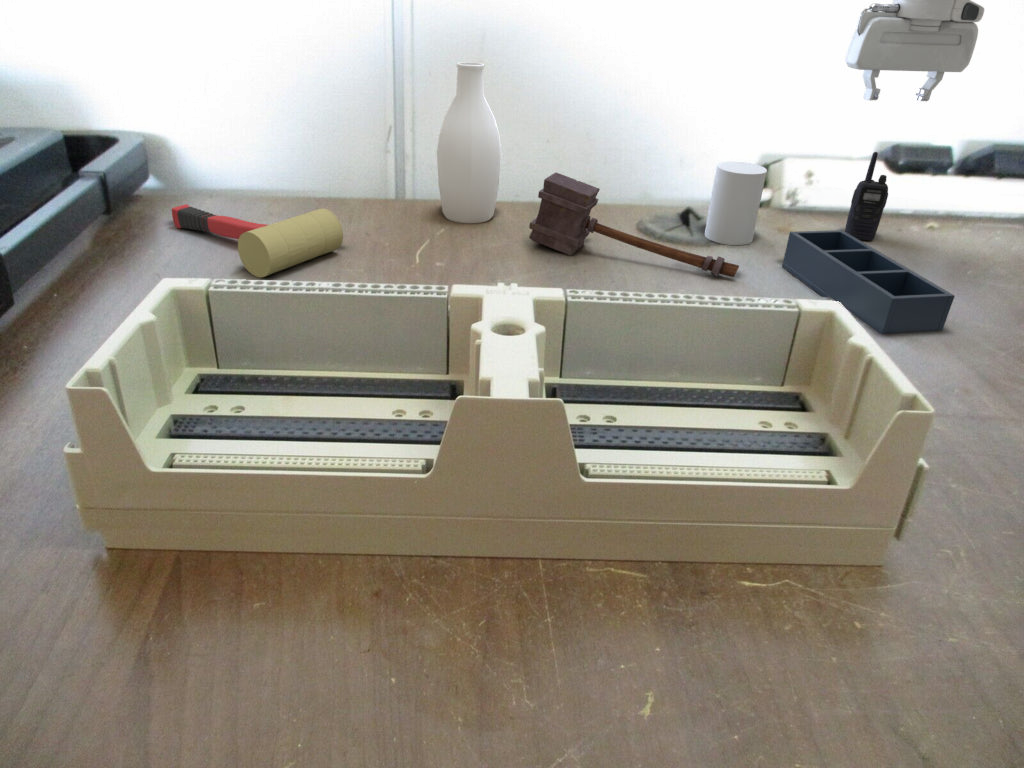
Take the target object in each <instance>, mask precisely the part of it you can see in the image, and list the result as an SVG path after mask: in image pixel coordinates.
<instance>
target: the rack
mask: <svg viewBox="0 0 1024 768" xmlns="http://www.w3.org/2000/svg"><path fill="white" fill-rule="evenodd" d="M786 243H787V244H786V246H785V247H786V248H785V251H784V256H783V260H782V265H781V267H782V268H783V269H784V270H785V271H787V272H788V273H790V274H791V275H792V276H794V277H795V278H797V279H798V280H799V281H801V282H802V283H803V284H804V285H805V286H807V287H808V288H810V289H811V290H813V291H814V292H815V293H817V294H818V295H819V296H821V297H822V298H831V299H832V300H834V301H835V302H837V301H839V302H841V303H842V304H843V305H844V306H845V307H846V308H845V307H844V306H843V307H844V308H845V309H846V310H847V311H850V312H851V313H852V314H853V315H855V316H856V317H857V318H859V319H860V320H862V321H863V322H864V323H866V324H867V325H868V326H870V327H871V328H873V330H875V331H877V332H878V333H879V334H881V335H889V334H890V335H891V334H907V333H922V332H923V333H925V332H941V331H943V330H944V327H945V324H946V321H947V319H948V316H949V313H950V310H951V307H952V305H953V302H954V299H955V296H956V295H955V294H952V293H951V292H949V291H948V290H946V289H944V288H942V287H941V286H940V285H937V284H936V283H935V282H933V281H930V279H927V278H926V277H924V276H922V275H921V274H919V273H917V272H915V271H913V270H912V269H910V268H908V267H906V266H905V265H904V264H901V263H900V262H898V261H896V260H895V259H892V258H891V257H889V256H888V255H886V254H885V253H883V252H881V251H879V250H877V249H875V248H874V247H872V246H870V245H869V244H867V243H865V242H864V241H863V240H859V239H857V238H855V237H853V236H851V235H850V234H848V233H846V232H845V230H843V229H838V230H837V229H836V230H835V229H833V230H832V229H831V230H801V231H799V230H797V231H789V234H788V237H787V242H786Z"/></svg>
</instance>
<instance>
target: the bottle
mask: <svg viewBox="0 0 1024 768" xmlns="http://www.w3.org/2000/svg"><path fill="white" fill-rule="evenodd" d="M456 68H457V71H456V72H457V75H456V76H457V77H456V93H455V96H454V98H453V100H452V102H451V103H450V106H449V107H448V110H447V111H446V113H445V115H444V117H443V120H442V124H441V129H440V131H439V134H438V142H437V149H436V164H437V180H438V181H437V182H438V189H439V197H440V202H441V209H442V214H443V215H444V217H445V218H446V219H447V220H449V221H451V222H455V223H460V224H480V223H485V222H488V221H490V220H491V219H492V218H493V217H494V215H495V211H496V210H495V209H496V205H497V198H498V192H499V187H500V179H501V178H500V177H501V166H502V165H501V164H502V145H501V137H500V132H499V128H498V124H497V120H496V117H495V115H494V113H493V111H492V109H491V107H490V105H489V103H488V101H487V99H486V96H485V86H484V85H485V84H484V68H485V64H484V63H483V62H477V61H460V62H457V63H456Z"/></svg>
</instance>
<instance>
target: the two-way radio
mask: <svg viewBox="0 0 1024 768" xmlns="http://www.w3.org/2000/svg"><path fill="white" fill-rule="evenodd" d="M878 156H879V153H878V152H877V151H874V152H873V153H872V156H871V159H870V162H869V165H868V168H867V171H866V175H865V178H864V180H861V181H859V182H858V184H857V186H856V188H855V189H854V190H853V194H852V198H851V202H850V207H849V211H848V214H847V219H846V224H845V228H844V231H845V232H846V233H848V234H850V235H851V236H853V237H855V238H857V239H858V240H860V241H868V242H870V241H874V240H875V237H876V234H877V231H878V229H879V226H880V223H881V219H882V215H883V213H884V209H885V207H886V205H887V202H888V198H889V185H888V184H887V179H888V177H887V175H885V174H880V176H879V177H878V180H877V181H876V180H874V179H873V175H874V172H875V168H876V164H877V161H878Z"/></svg>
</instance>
